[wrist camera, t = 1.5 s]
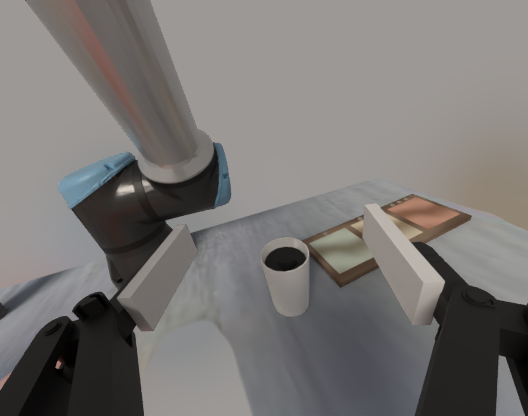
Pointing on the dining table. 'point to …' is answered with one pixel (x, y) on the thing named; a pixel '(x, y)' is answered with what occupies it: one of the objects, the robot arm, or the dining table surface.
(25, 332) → the dining table surface
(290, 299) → the white coffee cup
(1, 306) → the beverage cup
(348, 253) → the tile board
